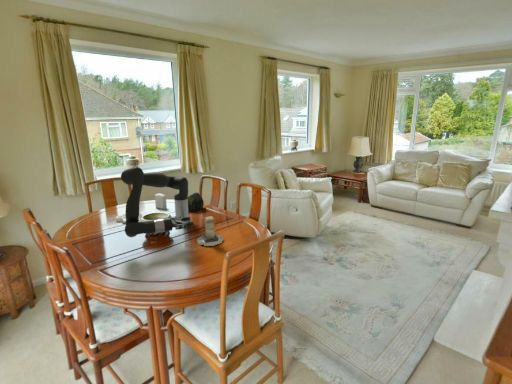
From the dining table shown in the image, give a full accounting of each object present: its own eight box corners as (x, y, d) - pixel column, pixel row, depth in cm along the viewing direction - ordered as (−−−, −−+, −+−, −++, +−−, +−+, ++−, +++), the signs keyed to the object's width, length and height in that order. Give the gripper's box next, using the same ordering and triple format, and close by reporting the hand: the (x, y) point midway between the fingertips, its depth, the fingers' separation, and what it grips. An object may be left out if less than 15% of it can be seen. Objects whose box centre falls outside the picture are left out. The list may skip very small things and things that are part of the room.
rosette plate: (194, 238, 184) (194, 233, 184) (218, 234, 191) (218, 229, 190) (200, 248, 170) (200, 243, 169) (226, 243, 177) (226, 238, 176)
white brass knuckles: (118, 225, 207) (115, 219, 219) (145, 220, 217) (140, 215, 229) (118, 220, 207) (114, 215, 218) (144, 216, 216) (139, 210, 228)
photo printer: (167, 208, 244) (166, 193, 241) (163, 209, 241) (162, 195, 238) (158, 206, 249) (157, 192, 246) (154, 207, 246) (153, 193, 243)
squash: (179, 203, 239) (188, 191, 232) (191, 199, 251) (200, 188, 245) (189, 216, 236) (199, 205, 229) (201, 212, 249) (210, 201, 242)
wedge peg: (205, 238, 181) (204, 217, 178) (212, 237, 183) (211, 216, 179) (207, 241, 177) (206, 219, 174) (214, 240, 179) (213, 218, 176)
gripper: (164, 223, 159) (193, 218, 165) (160, 215, 171) (188, 211, 178) (165, 235, 161) (194, 230, 167) (161, 226, 173) (189, 222, 180)
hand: (191, 220), depth 173 cm, fingers open, 8 cm apart
